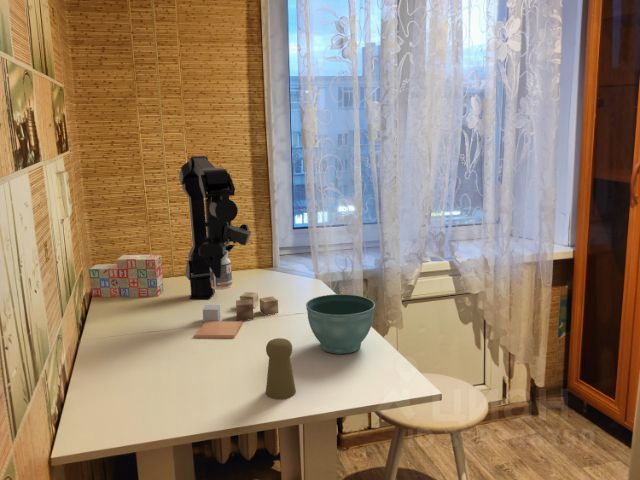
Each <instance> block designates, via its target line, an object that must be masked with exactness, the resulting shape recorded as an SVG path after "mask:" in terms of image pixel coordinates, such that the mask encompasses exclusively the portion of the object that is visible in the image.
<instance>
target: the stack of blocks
mask: <svg viewBox="0 0 640 480" xmlns="http://www.w3.org/2000/svg"><path fill="white" fill-rule="evenodd" d="M88 274H89V279H90V281H89V284H90V289H91V290H90V291H91V297H92V298H93V297H94V298H96V297H97V298H101V297H102V298H111V297H112V298H122V297H123V298H124V297H125V298H127V297H128V298H131V297H132V298H136V297H137V298H139V297H140V298H143V297H144V298H145V297H146V298H148V297H151V298H153V297H154V298H155V297H157V298H158V297H159V296H160V295H162V293H163V292H164V291H165V290H164V279H163V278H164V277H163V276H164V275H163V263H162V255H161V254H123V255H121V256H120V257H118V258H116V264H115V263H113V264H112V263H107V264H104V263H103V264H101V263H100V264H99V263H98V264H95V265H93V266H92V267H90V268H89V269H88Z"/></svg>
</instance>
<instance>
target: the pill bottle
mask: <svg viewBox="0 0 640 480" xmlns="http://www.w3.org/2000/svg"><path fill="white" fill-rule="evenodd" d="M225 252H227V254H226V255H225V256H224V257H223V258H222V266H221V275H220V278H216V277H215V275H214V273H213V271H212V270H211V268H210V277H211V287H212V288H213V289H215V291H216V290H218V291H219V290H220V291H223V290H228V289H231V288H232V287H233V275H232V273H233V272H232V262H231V260H230V258H229V256H228V251H227V250H226V251H225Z"/></svg>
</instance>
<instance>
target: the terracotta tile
mask: <svg viewBox="0 0 640 480" xmlns="http://www.w3.org/2000/svg"><path fill="white" fill-rule="evenodd" d="M242 326H243V321H237V320H236V321H233V320H232V321H231V320H229V321H225V320H222V321H221V320H220V321H206V322H205V323H204V324H202V326H201V327H200V328H199V329H198V331H197V332H196V333H195V335H194V336H195V339H235V338H236V336H237V335H238V333H239V331H240V330H241V328H242Z"/></svg>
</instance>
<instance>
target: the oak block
mask: <svg viewBox="0 0 640 480" xmlns="http://www.w3.org/2000/svg"><path fill="white" fill-rule="evenodd" d="M260 311H261V312H262V313H263V314H262V313H261V312H260ZM259 312H260V313H261V314H262V315H263V316H265V315H266V316H269V315H268V314H272V315H274V314H273V313H278V314H279V300H278V299H277V298H276V297H275V296H267V297H259Z"/></svg>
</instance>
